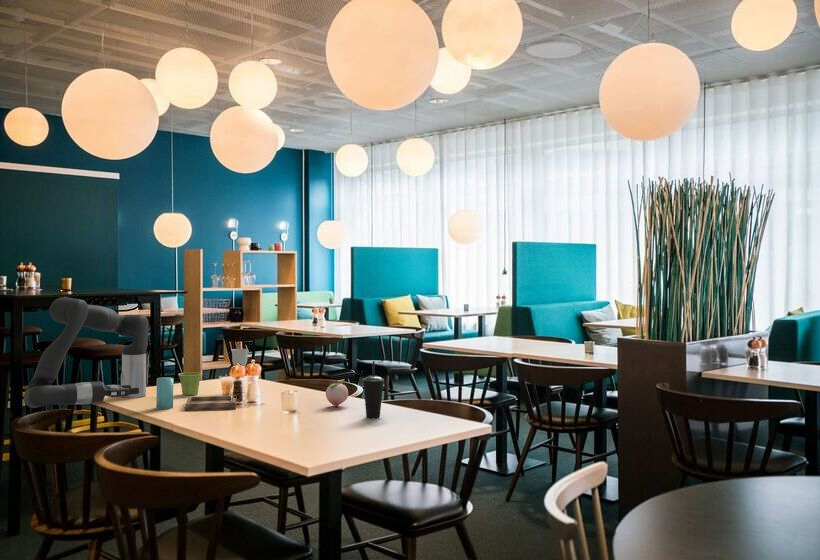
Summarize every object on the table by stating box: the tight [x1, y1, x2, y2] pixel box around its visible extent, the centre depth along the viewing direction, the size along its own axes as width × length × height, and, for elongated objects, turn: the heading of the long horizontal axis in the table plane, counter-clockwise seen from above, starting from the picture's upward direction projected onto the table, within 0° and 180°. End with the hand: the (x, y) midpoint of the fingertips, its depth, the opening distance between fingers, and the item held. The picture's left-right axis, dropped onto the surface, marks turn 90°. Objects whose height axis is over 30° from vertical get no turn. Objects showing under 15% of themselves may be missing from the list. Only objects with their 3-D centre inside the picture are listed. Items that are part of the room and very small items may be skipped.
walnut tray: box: [185, 395, 237, 411], centre depth 285 cm, size 18×16×2 cm
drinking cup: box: [362, 360, 385, 419], centre depth 267 cm, size 8×8×20 cm
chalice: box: [230, 348, 249, 367], centre depth 320 cm, size 7×7×18 cm
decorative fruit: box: [325, 380, 349, 407], centre depth 287 cm, size 9×8×10 cm
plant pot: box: [177, 371, 203, 397], centre depth 311 cm, size 9×9×9 cm
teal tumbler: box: [155, 376, 175, 410], centre depth 280 cm, size 6×6×11 cm
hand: (134, 389), depth 273 cm, fingers open, 8 cm apart
